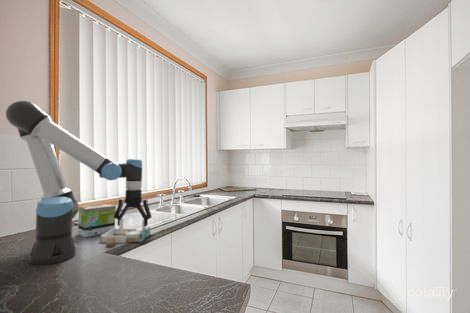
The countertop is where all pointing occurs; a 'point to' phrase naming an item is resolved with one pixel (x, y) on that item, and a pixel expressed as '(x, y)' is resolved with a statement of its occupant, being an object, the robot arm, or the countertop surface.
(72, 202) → the robot arm
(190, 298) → the countertop surface
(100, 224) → the tea box
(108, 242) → the stand
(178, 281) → the countertop surface
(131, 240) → the tray
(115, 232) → the dock
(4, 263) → the countertop surface
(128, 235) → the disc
